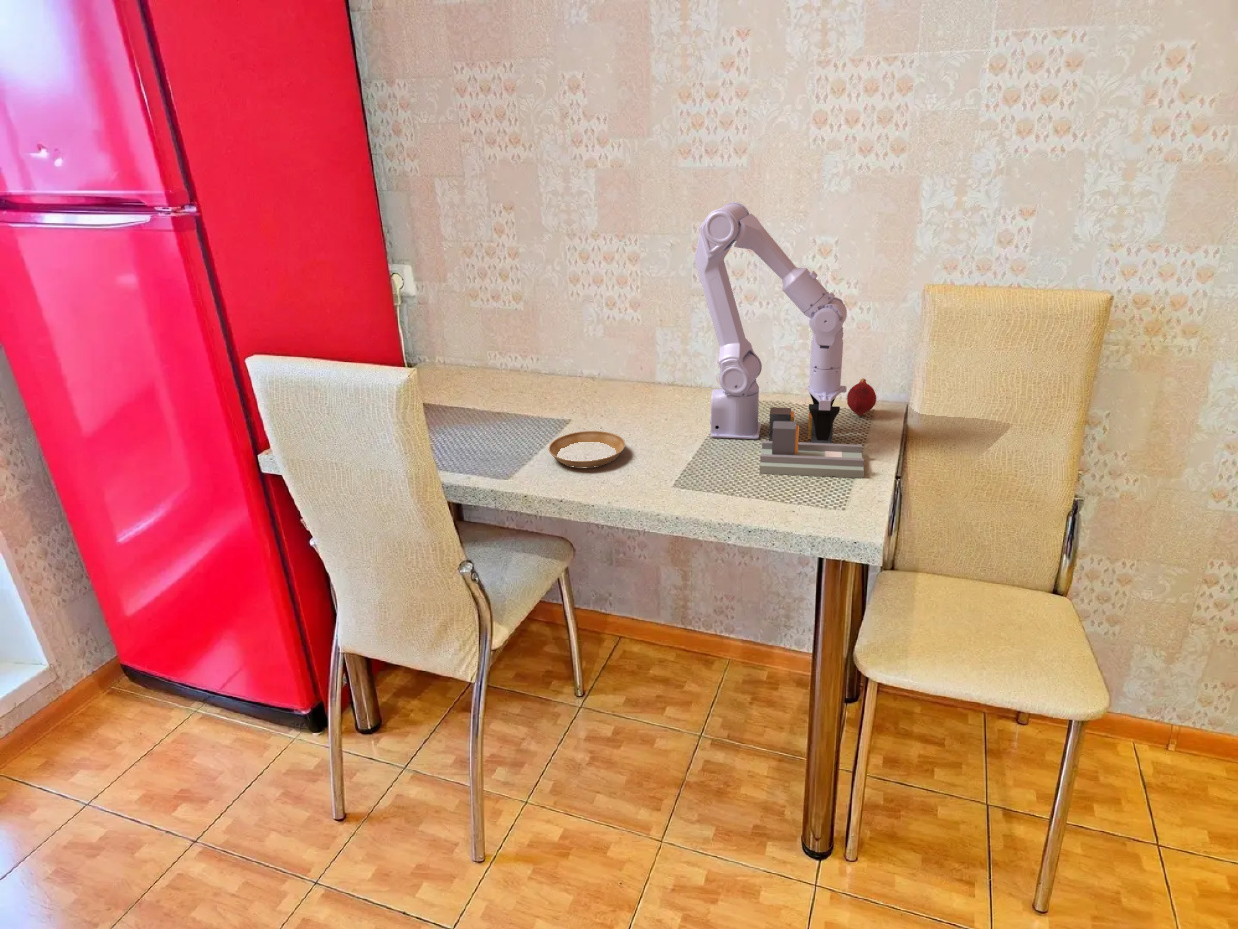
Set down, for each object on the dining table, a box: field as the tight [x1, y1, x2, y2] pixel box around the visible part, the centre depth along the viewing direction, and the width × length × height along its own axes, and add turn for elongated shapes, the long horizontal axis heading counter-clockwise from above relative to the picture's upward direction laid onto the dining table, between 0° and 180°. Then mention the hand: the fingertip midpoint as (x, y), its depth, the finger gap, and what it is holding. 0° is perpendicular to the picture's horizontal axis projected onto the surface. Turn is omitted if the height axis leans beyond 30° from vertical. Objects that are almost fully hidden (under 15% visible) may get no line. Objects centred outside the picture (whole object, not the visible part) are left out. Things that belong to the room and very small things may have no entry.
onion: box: [846, 377, 877, 417], centre depth 169 cm, size 6×6×8 cm
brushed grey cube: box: [807, 411, 834, 444], centre depth 159 cm, size 5×4×6 cm
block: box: [768, 406, 795, 441], centre depth 161 cm, size 5×4×6 cm
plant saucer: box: [548, 430, 626, 467], centre depth 158 cm, size 15×15×3 cm
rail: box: [759, 421, 865, 479], centre depth 149 cm, size 18×10×8 cm, turn 78°
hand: (822, 431), depth 159 cm, fingers open, 7 cm apart
